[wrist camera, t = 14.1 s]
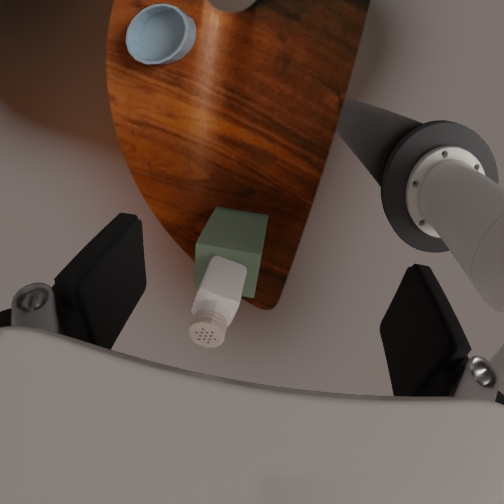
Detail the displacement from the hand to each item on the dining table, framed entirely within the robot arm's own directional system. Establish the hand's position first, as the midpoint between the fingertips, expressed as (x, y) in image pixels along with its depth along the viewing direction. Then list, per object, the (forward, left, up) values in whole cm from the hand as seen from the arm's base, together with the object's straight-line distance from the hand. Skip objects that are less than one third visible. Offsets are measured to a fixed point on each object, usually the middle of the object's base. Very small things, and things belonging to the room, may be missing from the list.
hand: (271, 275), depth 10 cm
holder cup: (+16, -11, -28) cm, 34 cm away
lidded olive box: (+4, +14, -28) cm, 32 cm away
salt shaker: (+4, +14, -19) cm, 24 cm away
